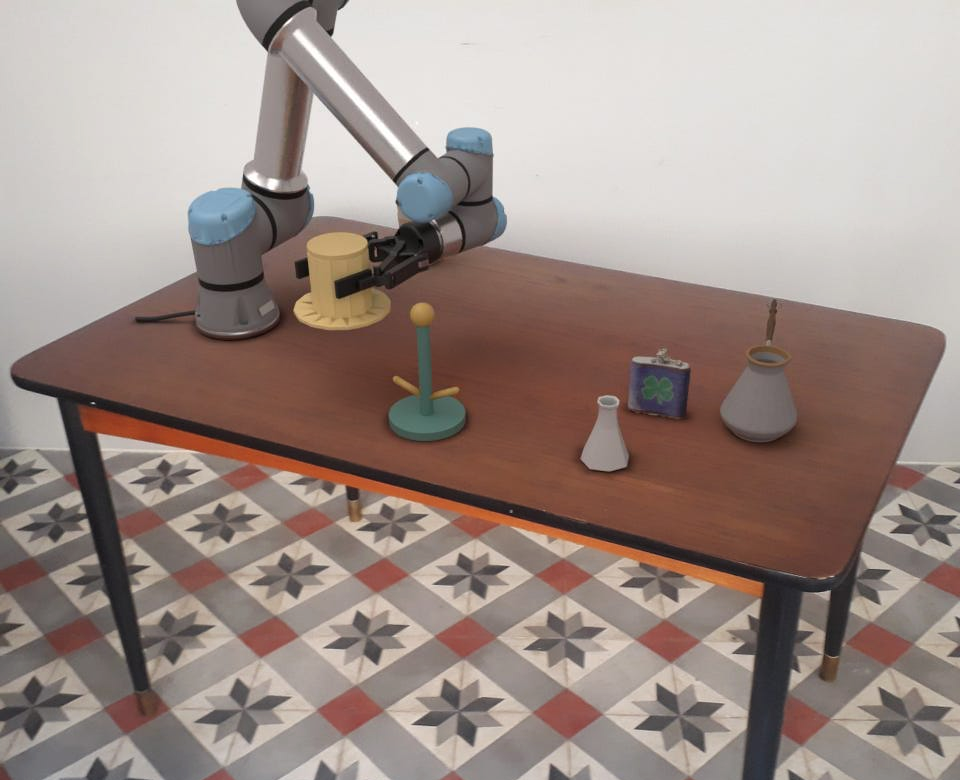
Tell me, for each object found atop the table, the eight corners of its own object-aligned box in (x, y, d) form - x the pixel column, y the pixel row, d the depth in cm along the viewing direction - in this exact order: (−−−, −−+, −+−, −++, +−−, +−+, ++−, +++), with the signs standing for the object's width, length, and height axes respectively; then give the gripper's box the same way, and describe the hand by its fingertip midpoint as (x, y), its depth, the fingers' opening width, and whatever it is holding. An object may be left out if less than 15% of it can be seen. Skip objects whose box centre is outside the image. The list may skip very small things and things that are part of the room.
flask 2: (626, 411, 165) (631, 350, 159) (629, 402, 168) (635, 342, 162) (684, 420, 163) (691, 359, 157) (687, 411, 165) (694, 351, 159)
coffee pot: (792, 454, 155) (809, 364, 146) (714, 443, 157) (726, 354, 149) (797, 385, 172) (813, 301, 163) (726, 376, 174) (738, 293, 166)
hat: (276, 321, 161) (268, 254, 155) (323, 283, 172) (317, 220, 166) (364, 336, 157) (359, 269, 150) (406, 296, 168) (402, 232, 162)
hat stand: (376, 432, 161) (366, 314, 150) (408, 396, 170) (401, 281, 159) (447, 447, 158) (443, 327, 146) (477, 409, 167) (475, 293, 155)
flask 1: (576, 447, 157) (579, 389, 151) (624, 444, 158) (628, 386, 152) (584, 474, 151) (587, 415, 145) (633, 471, 152) (638, 412, 146)
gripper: (473, 281, 167) (363, 326, 154) (385, 243, 180) (277, 281, 167) (473, 236, 162) (359, 278, 150) (383, 201, 176) (271, 236, 163)
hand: (316, 280), depth 158 cm, fingers closed on hat, 9 cm apart
